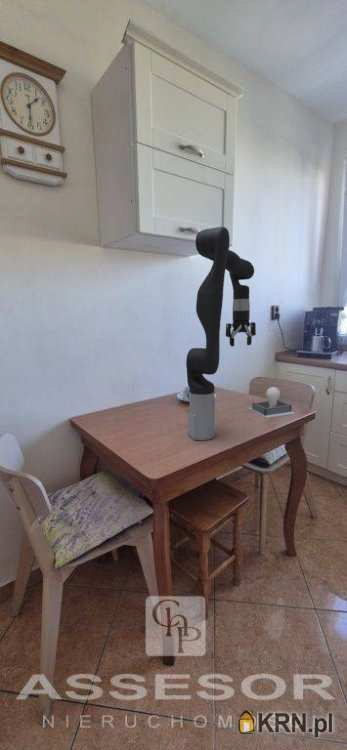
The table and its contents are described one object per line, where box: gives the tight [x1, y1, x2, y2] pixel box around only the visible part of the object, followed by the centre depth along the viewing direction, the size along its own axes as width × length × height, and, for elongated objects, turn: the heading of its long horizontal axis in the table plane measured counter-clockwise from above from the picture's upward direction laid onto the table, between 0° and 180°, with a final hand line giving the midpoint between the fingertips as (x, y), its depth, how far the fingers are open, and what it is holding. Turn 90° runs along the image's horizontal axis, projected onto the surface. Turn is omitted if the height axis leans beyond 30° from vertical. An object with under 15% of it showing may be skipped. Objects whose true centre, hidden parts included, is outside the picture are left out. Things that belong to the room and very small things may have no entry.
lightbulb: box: [265, 386, 281, 407], centre depth 145 cm, size 6×6×11 cm
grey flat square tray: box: [248, 399, 297, 419], centre depth 146 cm, size 15×15×3 cm
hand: (240, 345), depth 146 cm, fingers open, 8 cm apart
